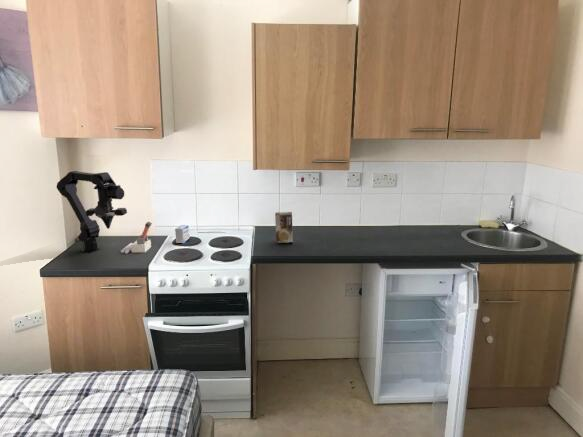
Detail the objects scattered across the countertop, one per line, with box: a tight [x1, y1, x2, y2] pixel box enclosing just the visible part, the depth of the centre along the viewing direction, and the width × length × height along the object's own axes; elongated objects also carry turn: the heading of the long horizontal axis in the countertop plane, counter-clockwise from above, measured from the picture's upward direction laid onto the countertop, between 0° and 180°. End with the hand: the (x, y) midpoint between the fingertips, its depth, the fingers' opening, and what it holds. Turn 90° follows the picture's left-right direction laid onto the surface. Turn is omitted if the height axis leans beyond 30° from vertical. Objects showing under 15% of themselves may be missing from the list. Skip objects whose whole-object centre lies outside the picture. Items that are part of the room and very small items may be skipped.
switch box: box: [131, 234, 152, 253], centre depth 233 cm, size 7×9×7 cm
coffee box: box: [274, 211, 294, 243], centre depth 240 cm, size 9×6×16 cm
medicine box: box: [174, 224, 190, 244], centre depth 245 cm, size 8×4×9 cm, turn 168°
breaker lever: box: [141, 221, 153, 239], centre depth 232 cm, size 2×3×10 cm, turn 0°
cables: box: [120, 242, 134, 255], centre depth 234 cm, size 15×4×2 cm, turn 178°
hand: (108, 228), depth 226 cm, fingers closed
